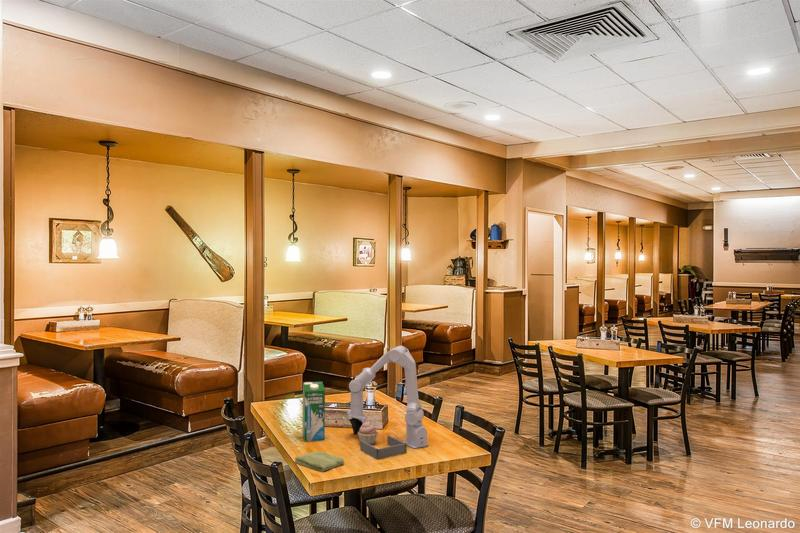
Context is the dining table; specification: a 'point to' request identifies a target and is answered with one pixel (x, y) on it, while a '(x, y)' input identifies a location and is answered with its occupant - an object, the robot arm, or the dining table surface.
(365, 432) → the cupcake
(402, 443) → the box
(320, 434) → the milk carton
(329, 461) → the washcloth
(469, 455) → the dining table surface
